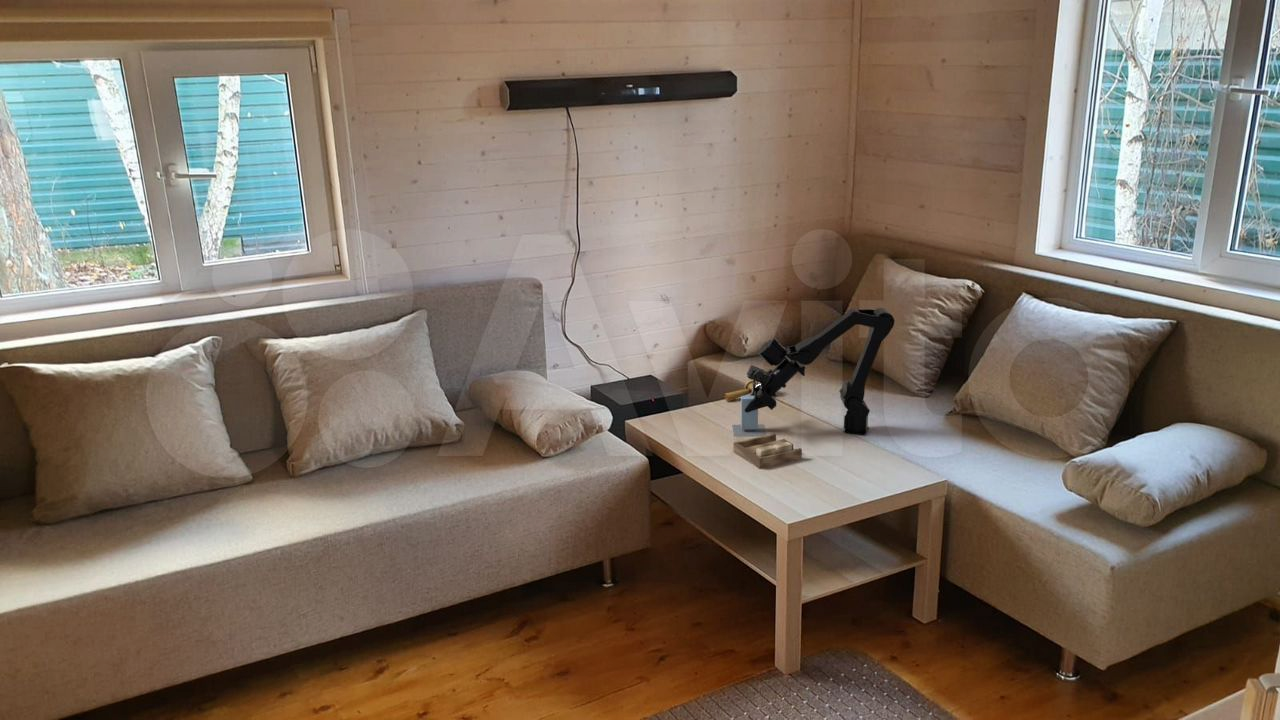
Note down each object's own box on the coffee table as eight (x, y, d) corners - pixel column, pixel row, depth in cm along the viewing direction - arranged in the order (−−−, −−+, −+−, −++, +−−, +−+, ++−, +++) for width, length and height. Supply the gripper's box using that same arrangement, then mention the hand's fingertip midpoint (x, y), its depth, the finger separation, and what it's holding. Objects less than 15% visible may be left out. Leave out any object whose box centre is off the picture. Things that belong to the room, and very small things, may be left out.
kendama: (733, 409, 323) (780, 394, 329) (729, 391, 322) (776, 376, 328) (723, 406, 330) (769, 391, 336) (720, 388, 329) (765, 374, 335)
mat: (763, 426, 304) (763, 424, 304) (766, 438, 294) (766, 436, 294) (732, 426, 304) (732, 424, 304) (734, 438, 295) (734, 436, 294)
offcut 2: (787, 456, 279) (787, 441, 278) (791, 458, 277) (791, 444, 276) (772, 459, 277) (772, 445, 275) (777, 462, 275) (777, 447, 274)
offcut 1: (770, 459, 277) (771, 445, 275) (775, 462, 275) (775, 447, 273) (756, 463, 274) (756, 448, 273) (760, 466, 273) (760, 451, 271)
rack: (774, 444, 289) (774, 433, 288) (801, 460, 277) (801, 449, 276) (733, 454, 283) (733, 442, 282) (759, 470, 271) (759, 458, 270)
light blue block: (756, 425, 300) (757, 395, 297) (757, 429, 297) (758, 398, 294) (740, 426, 300) (741, 395, 297) (741, 429, 297) (741, 399, 294)
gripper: (760, 348, 301) (724, 383, 304) (765, 367, 283) (728, 403, 287) (784, 372, 303) (749, 405, 306) (792, 391, 285) (754, 427, 289)
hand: (745, 409), depth 297 cm, fingers closed on light blue block, 3 cm apart
